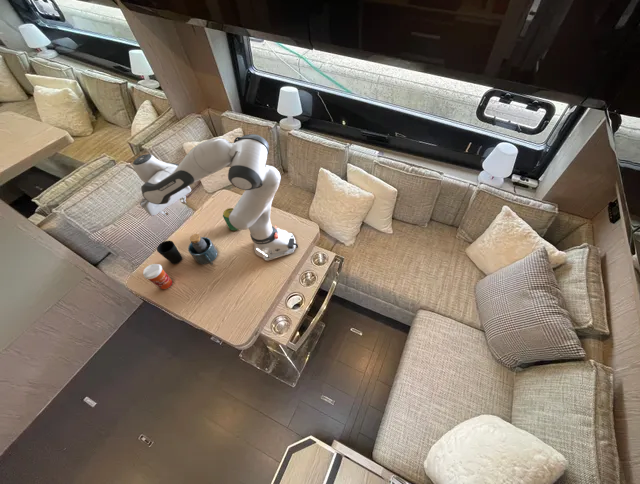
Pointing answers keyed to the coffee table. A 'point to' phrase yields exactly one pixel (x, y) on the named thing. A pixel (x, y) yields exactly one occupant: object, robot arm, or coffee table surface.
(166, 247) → the cup
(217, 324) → the coffee table surface
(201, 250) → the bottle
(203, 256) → the teal ceramic mug
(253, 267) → the coffee table surface
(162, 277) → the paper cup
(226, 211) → the beverage can
